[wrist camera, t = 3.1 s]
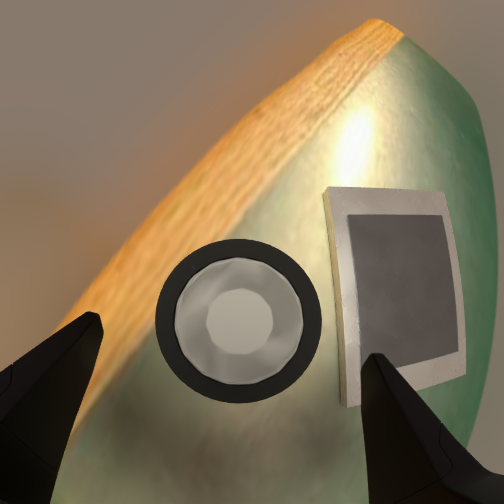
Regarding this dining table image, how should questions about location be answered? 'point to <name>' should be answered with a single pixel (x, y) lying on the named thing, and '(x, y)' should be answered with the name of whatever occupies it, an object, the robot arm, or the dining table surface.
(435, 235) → the mounting plate
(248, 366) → the push button
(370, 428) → the robot arm
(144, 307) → the dining table surface
